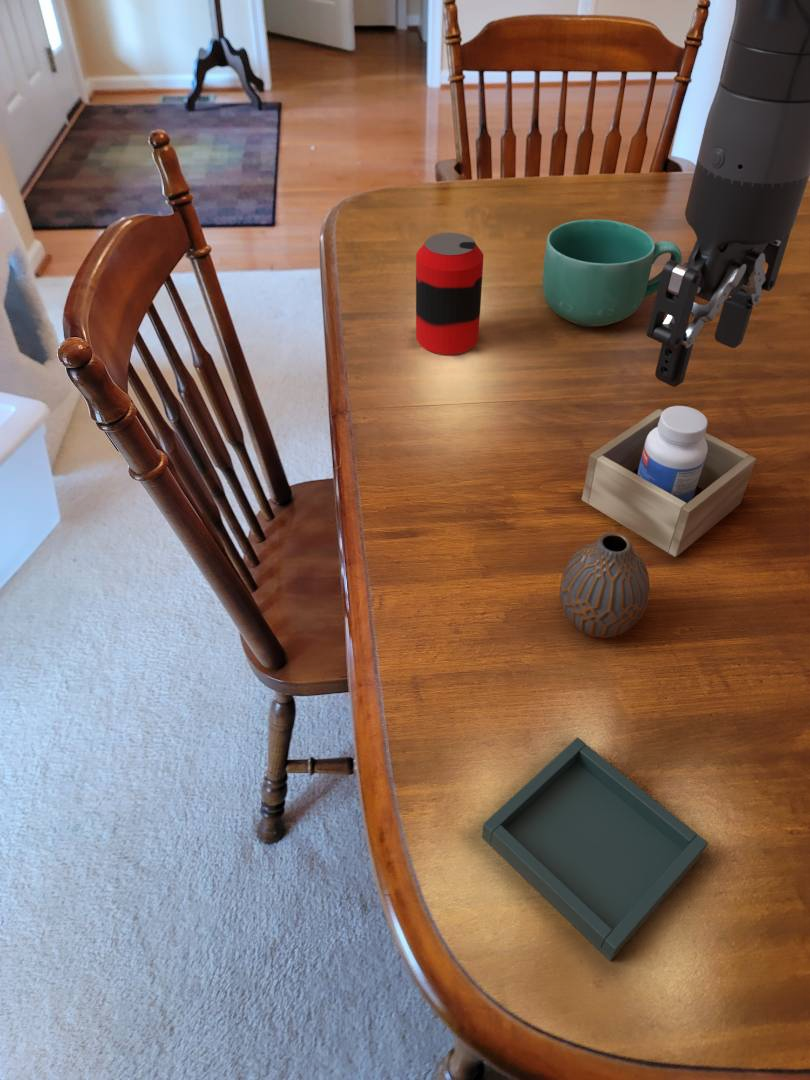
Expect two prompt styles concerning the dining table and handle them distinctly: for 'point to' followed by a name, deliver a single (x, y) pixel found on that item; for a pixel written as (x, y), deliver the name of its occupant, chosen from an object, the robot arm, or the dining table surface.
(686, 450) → the pill bottle
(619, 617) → the vase
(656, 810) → the tray
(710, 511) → the crate
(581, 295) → the mug
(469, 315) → the soda can
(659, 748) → the dining table surface
